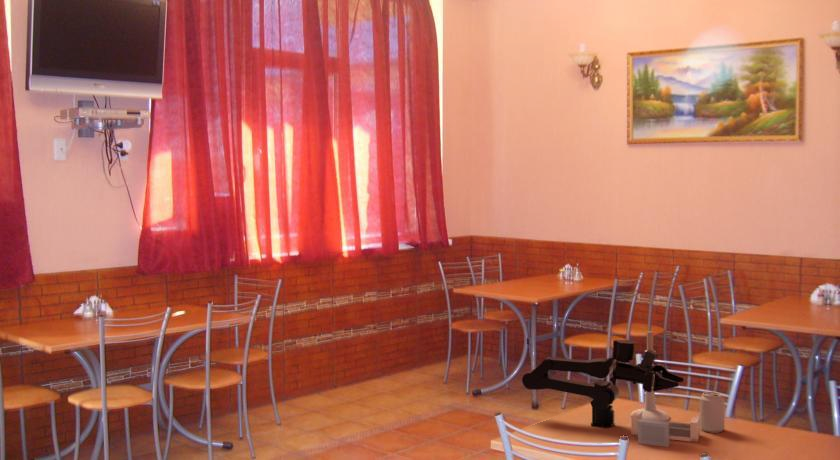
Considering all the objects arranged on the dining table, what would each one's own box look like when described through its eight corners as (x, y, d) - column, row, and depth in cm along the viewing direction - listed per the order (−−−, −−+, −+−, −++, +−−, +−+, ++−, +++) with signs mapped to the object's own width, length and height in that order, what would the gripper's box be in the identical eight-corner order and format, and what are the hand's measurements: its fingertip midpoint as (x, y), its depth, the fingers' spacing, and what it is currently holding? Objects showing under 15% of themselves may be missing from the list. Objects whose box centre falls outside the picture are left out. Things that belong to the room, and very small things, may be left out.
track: (631, 434, 265) (631, 416, 265) (636, 428, 272) (636, 409, 272) (697, 442, 257) (697, 422, 256) (700, 434, 264) (700, 416, 264)
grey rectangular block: (637, 443, 256) (637, 421, 256) (639, 440, 259) (639, 418, 259) (667, 447, 253) (667, 424, 252) (669, 444, 255) (669, 421, 255)
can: (726, 434, 265) (726, 396, 264) (701, 433, 266) (701, 395, 265) (722, 427, 272) (722, 391, 271) (698, 426, 273) (698, 390, 273)
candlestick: (636, 422, 279) (636, 333, 277) (626, 412, 291) (626, 327, 290) (674, 422, 279) (674, 333, 277) (662, 411, 292) (663, 326, 290)
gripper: (627, 352, 263) (678, 361, 256) (640, 345, 279) (688, 353, 272) (624, 387, 263) (674, 397, 256) (637, 377, 280) (685, 386, 273)
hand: (681, 382), depth 265 cm, fingers open, 9 cm apart
